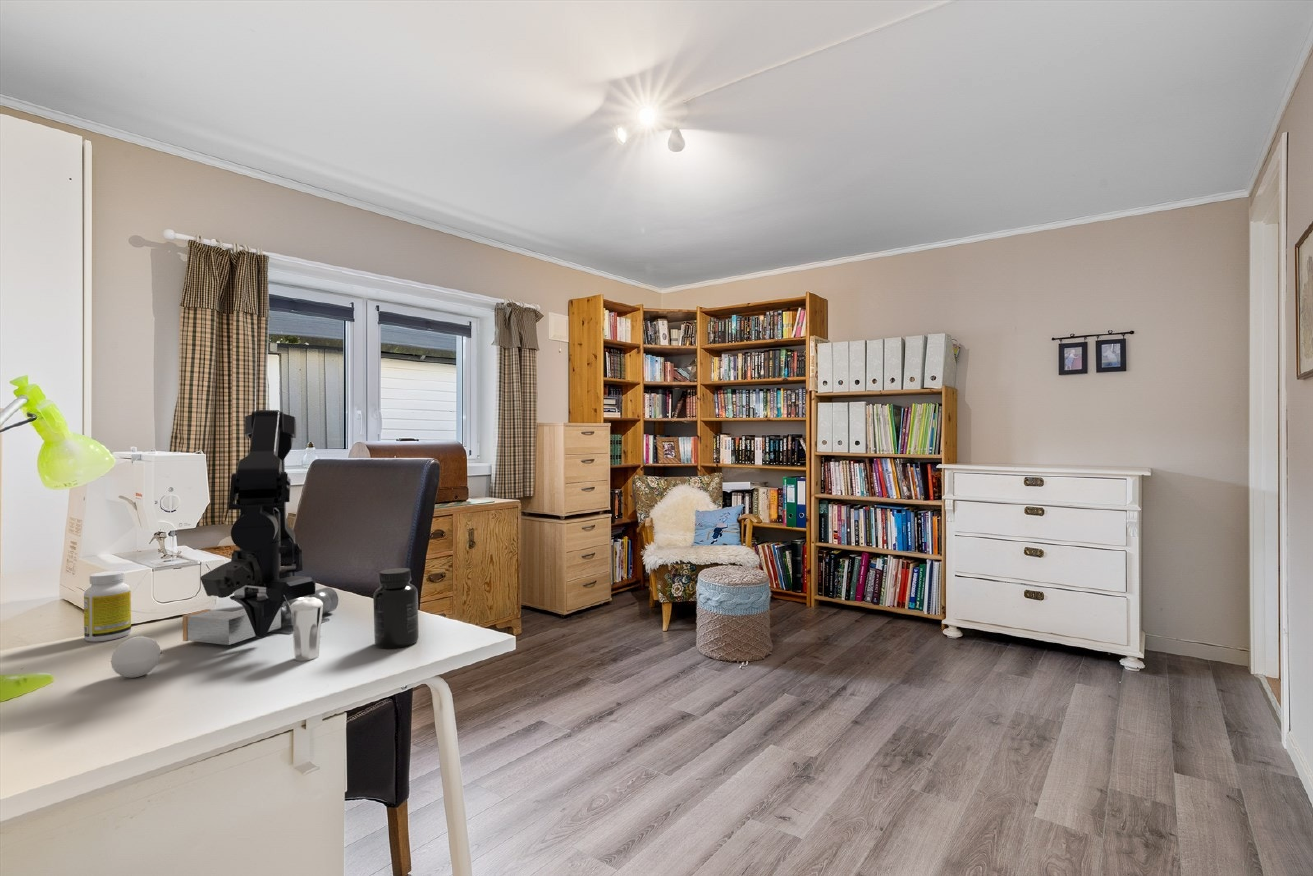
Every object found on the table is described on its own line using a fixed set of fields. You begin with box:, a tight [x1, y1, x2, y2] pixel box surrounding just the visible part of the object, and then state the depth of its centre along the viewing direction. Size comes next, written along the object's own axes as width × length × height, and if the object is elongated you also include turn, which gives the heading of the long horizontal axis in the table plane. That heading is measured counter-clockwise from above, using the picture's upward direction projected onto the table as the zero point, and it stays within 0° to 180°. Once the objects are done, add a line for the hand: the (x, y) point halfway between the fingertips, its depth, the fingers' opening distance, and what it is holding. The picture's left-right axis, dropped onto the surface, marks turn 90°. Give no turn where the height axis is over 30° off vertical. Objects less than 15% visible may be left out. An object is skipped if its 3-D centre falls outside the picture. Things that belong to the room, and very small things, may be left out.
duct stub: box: [268, 586, 339, 635], centre depth 121 cm, size 14×9×5 cm, turn 164°
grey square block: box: [182, 607, 281, 646], centre depth 111 cm, size 10×10×4 cm
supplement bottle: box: [372, 567, 420, 650], centre depth 107 cm, size 7×7×12 cm
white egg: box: [110, 635, 163, 679], centre depth 94 cm, size 8×6×6 cm
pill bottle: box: [83, 570, 132, 643], centre depth 112 cm, size 6×6×11 cm
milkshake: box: [284, 595, 323, 662], centre depth 100 cm, size 4×5×10 cm
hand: (260, 637), depth 107 cm, fingers closed
